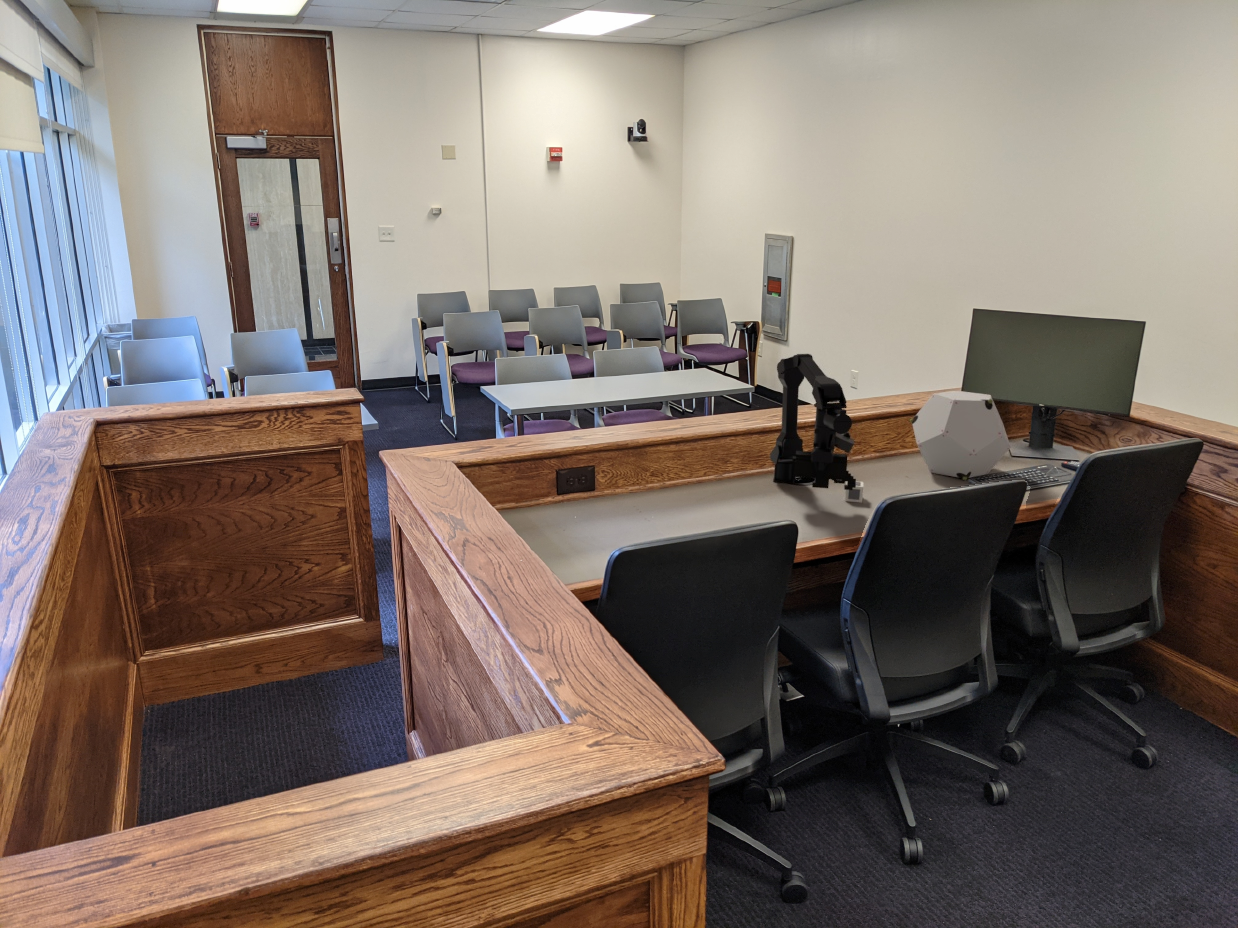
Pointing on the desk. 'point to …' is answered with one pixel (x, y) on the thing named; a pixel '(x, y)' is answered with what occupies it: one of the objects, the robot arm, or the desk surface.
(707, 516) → the desk surface
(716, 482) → the desk surface
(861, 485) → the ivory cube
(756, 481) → the desk surface
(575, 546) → the desk surface
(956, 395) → the geometric sculpture
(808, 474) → the security camera
